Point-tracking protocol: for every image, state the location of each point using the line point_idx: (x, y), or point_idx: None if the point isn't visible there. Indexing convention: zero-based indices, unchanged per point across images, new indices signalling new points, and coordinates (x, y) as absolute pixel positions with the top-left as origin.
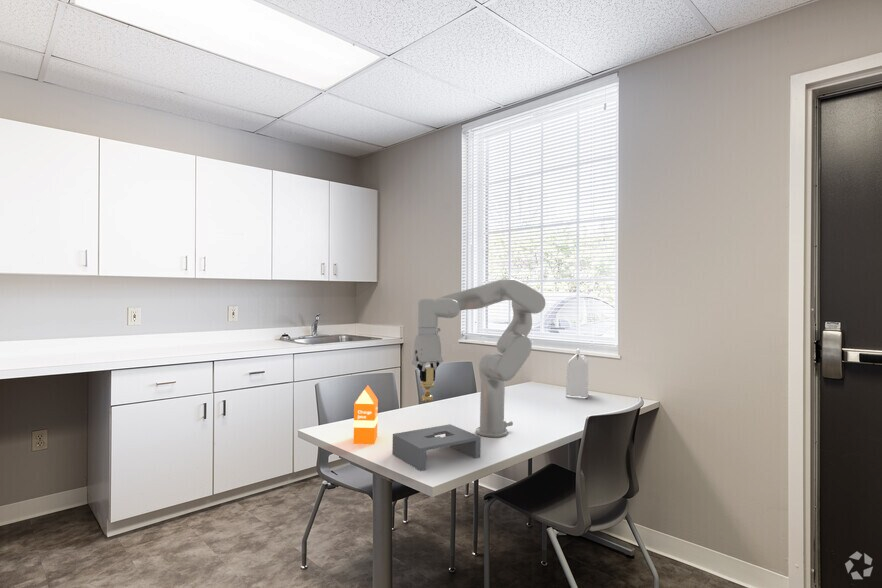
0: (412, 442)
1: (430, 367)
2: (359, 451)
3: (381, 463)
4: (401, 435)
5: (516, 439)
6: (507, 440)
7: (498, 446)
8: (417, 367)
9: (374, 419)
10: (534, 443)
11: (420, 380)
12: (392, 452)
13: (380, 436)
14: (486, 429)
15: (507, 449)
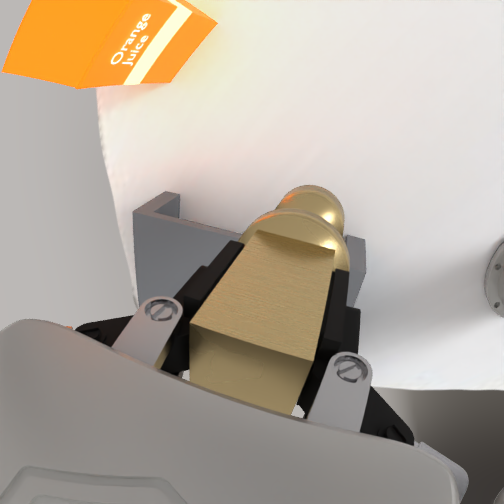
0: (144, 300)
1: (279, 398)
2: (115, 117)
3: (122, 221)
4: (146, 240)
5: (498, 344)
6: (482, 335)
7: (425, 345)
8: (108, 327)
9: (120, 83)
10: (485, 379)
11: (231, 242)
12: (162, 193)
13: (230, 23)
14: (501, 288)
15: (415, 366)
